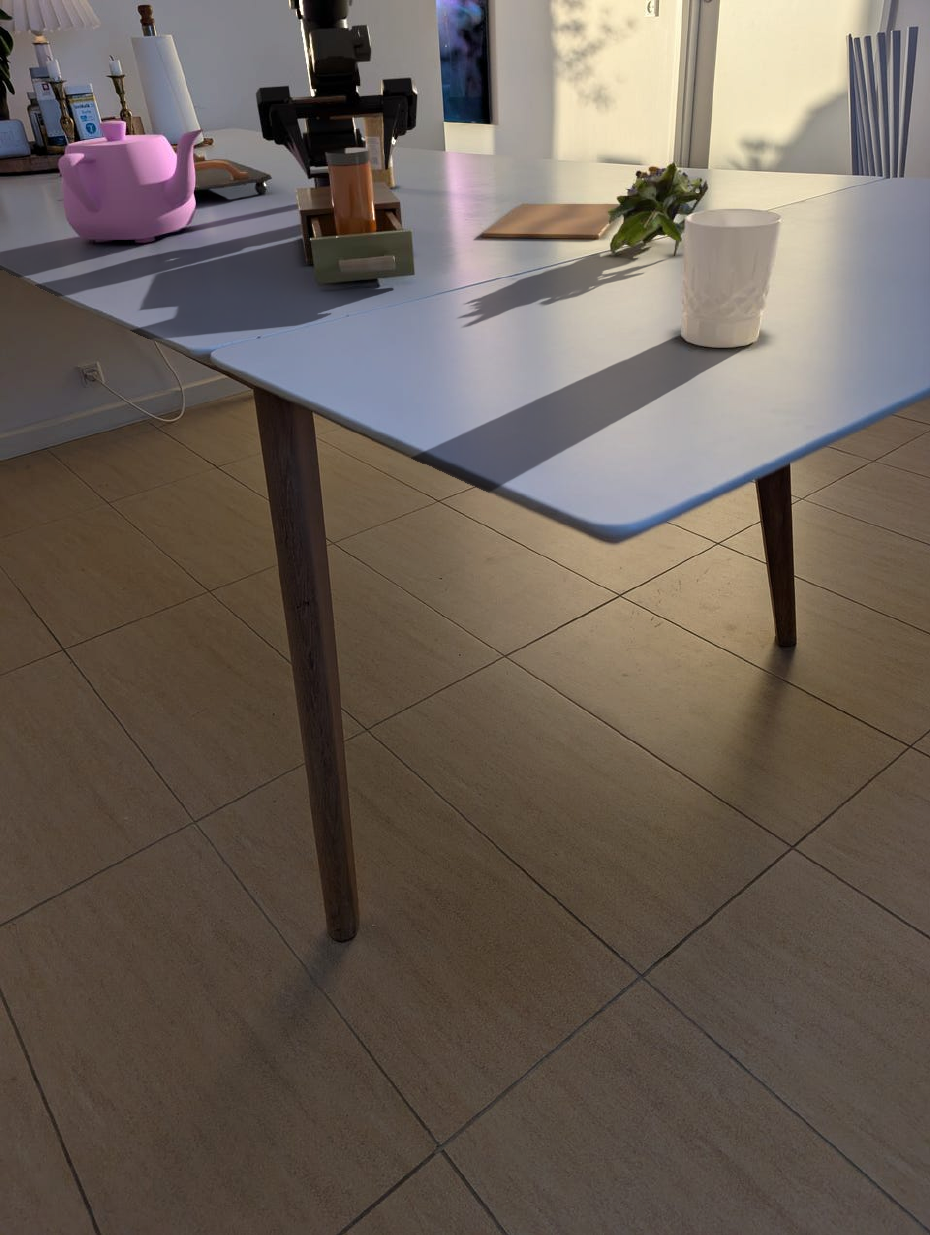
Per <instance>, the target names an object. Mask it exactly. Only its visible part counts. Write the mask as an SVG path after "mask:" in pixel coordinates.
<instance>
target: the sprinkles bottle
mask: <svg viewBox="0 0 930 1235" xmlns="http://www.w3.org/2000/svg"><path fill="white" fill-rule="evenodd" d="M362 119H363V124H364V133H365V134H364V135H365V136H364V139H365V142H366V148H368V149H370V156H371V161H370V166H371V176H372V183H376V182H385V183H386V184H387V186H388V187H389V188H390V189H393V188H394V187H395V180H394V169H393V155H391V159H390V164H389V169H388V170H385V167H384V163H383V120H382V116H375V117H362Z"/></svg>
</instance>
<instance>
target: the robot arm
mask: <svg viewBox="0 0 930 1235" xmlns="http://www.w3.org/2000/svg"><path fill="white" fill-rule="evenodd" d="M288 4H289V9H290V10H295V15H296V18H297V19H298V20H299V21H300V29H301V35H302V41H303V47H304V55H305V62H306V67H307V73H308V80H309V88H310V95H311V96H297V97H295V96H293V97H291V92H290V86H289V85H276V86H260V87H259V88H258V89H257V91H256V92H255V98H256V106H257V111H258V117H259V123H260V129H261V135H262V138H263V139H264V140H266V141H268V142H271V141H274V143H275V145H277V146H283V147H285V149H286V150H287V151H288V152H289V153H290V154H291V155H292V156H293V157H294V158H295V160H296V161H297V163H298V164H299V166H300V167H301V169H302V170H303V172H304V173H305V175H306V177H307V180H312V179H313V181H314V187H326V186H330V178H329V170H328V164H327V161H326V152H327V151H329V150H334V149H342V148H366V140H365V137H363V135H362V133H361V128H359V127H357V128H356V125H355V119H361V118H363V117H375V116H382V120H383V163H384V167H385V170H388V169H389V164H390V159H391V155H392V154H393V150H394V148H395V145H396V143H397V140H398V138H399V137H402V136H405V135H406V134H407V131H412V130H413V129H414V128H416V126H417V115H418V114H417V113H418V94H419V93H418V90H417V83H416V82H415V81H414V79H412V78H411V77H410V76H409V77H395V78H394V77H393V78H381V85H380V87H381V88H380V90H381V91H380V92H381V93H380V94H371V95H361V93H360V87H361V86H362V85H361V73H360V68H359V67H360V66H359V63H365V62H366V63H367V62H371V61H372V45H371V44H372V43H371V36H370V31H369V26H368V24H359V25H357V24H356V25H352V26H351V28H349V22H348V21H349V20H348V19H347V18H348V16H349V13H350V7H352V6H353V0H288ZM303 119H304V124H305V131H303V132H302V131H301V128H300V124H299V120H303ZM392 156H393V155H392ZM311 167H313V168H315V169H311ZM326 167H327V168H326Z"/></svg>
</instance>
